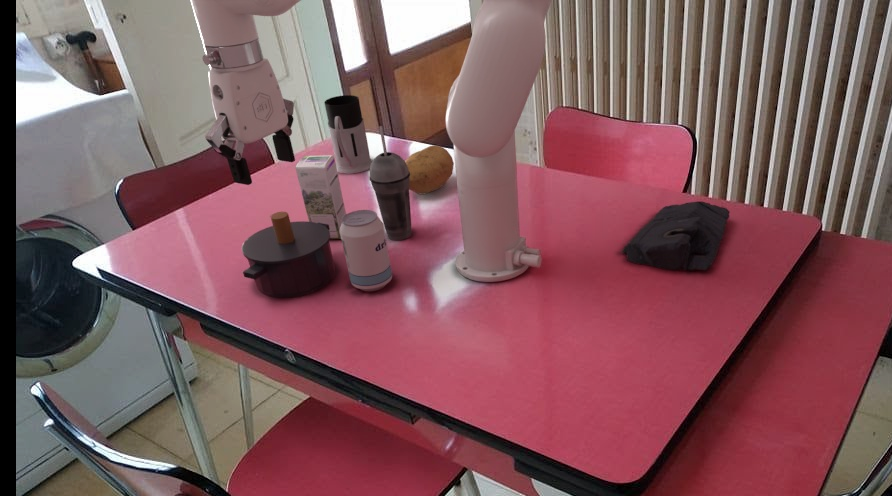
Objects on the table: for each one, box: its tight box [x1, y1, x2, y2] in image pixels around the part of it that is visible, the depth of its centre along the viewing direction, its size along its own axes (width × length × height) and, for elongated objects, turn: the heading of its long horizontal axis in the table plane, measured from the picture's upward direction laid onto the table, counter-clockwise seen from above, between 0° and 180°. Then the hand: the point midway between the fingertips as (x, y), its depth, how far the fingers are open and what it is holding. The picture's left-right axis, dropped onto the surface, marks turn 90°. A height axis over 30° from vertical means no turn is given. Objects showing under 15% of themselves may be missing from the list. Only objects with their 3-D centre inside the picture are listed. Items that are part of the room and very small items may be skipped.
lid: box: [241, 211, 331, 264], centre depth 113 cm, size 14×14×6 cm
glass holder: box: [324, 94, 373, 175], centre depth 153 cm, size 9×14×15 cm, turn 1°
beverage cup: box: [369, 125, 412, 241], centre depth 123 cm, size 7×7×20 cm
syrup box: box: [294, 154, 347, 240], centre depth 127 cm, size 6×6×14 cm
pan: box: [242, 223, 336, 299], centre depth 116 cm, size 13×19×7 cm
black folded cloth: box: [621, 200, 730, 272], centre depth 118 cm, size 15×22×5 cm
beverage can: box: [340, 209, 393, 292], centre depth 111 cm, size 7×7×12 cm
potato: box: [404, 145, 455, 195], centre depth 143 cm, size 10×14×8 cm
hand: (265, 171), depth 107 cm, fingers open, 9 cm apart
